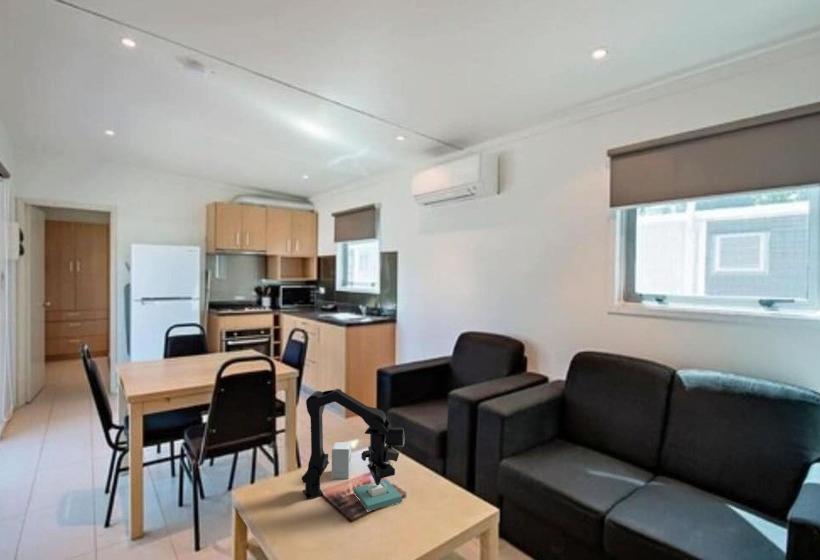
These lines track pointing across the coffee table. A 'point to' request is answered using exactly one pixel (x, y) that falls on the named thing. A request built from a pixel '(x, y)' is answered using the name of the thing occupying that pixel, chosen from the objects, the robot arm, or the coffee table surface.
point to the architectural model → (390, 463)
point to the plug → (377, 489)
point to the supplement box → (341, 460)
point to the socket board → (381, 500)
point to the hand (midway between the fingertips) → (377, 484)
